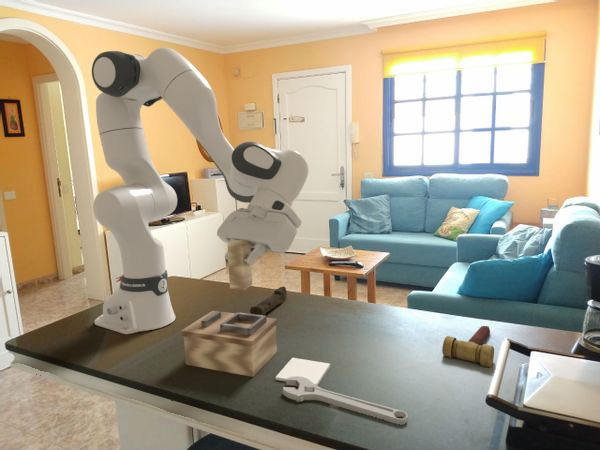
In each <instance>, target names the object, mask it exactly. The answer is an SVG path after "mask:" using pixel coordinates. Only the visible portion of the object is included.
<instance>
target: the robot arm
mask: <svg viewBox="0 0 600 450" xmlns="http://www.w3.org/2000/svg"><path fill="white" fill-rule="evenodd" d="M91 77H92V81H93V84H94V85H95V86H96V88H97V90H99V91H100V92H101V93H100V94H98V96H97V97H96V100H95V114H96V115H95V117H96V124H97V131H98V134H99V138H100V142H101V147H102V152H103V157H104V161H105V163H106V165H107V166H108V168H110V169H111V170H113V171H114V172H116V173H117V174H118V175H119V176H120V177H121V179H122V180H123V182H124V185H122V184H121V185H116V186H113V187H112V186H111V187H110V188H107V189H105V190H103V191H100V192H99V193H98V194H97V195H96V196H95V198H94V201H93V204H92V205H93V206H92V210H93V214H94V217H95V219H96V220H97V222H98V223H99V225H101V227H104V228H105V229H107V230H108V231H110V233H111V234H112V235H113V237H114V239H115V240H116V243H117V244H118V245H117V246H118V248H119V251H120V257H121V263H122V264H121V265H122V271H123V272H122V273H123V274H122V275H120V276H119V277H116V278H115V280H116V281H115V282H116V283H118V282H119V288H118V289H117V290H115V291H114V292H113V293H112V294H111V295H110V296H108V298H106V299H105V300H104V302H103V305H102V314H101V315H99V316H98V317H96V318H95V320H94V325H96V326H98V327H101V328H104V329H108V330H111V331H114V332H117V333H120V334H123V335H130V334H134V333H139V332H147V331H150V330H157V329H161V328H163V327H166V326H168V325H169V324H172V323H174V321H175V320H176V318H177V317H176V314H175V312H174V309H173V306H172V302H171V296H170V294H169V289H168V288H169V277H168V276H169V275H168V271H167V270H166V263H165V262H166V261H165V250H164V249H165V248H164V244H163V242H161V240H159V239H158V238H156V237H154V236H153V235H152V232H151V230H150V225H149V223H151V222H155V221H160V220H162V219H164V218H166V217H168V216H169V215H171V214H173V212H174V211H175V210H176V208H177V206H178V196H177V193H176V191H175V189H174V188H173V187H172V186H171V185H170V184H168V183H167V182H166V181H165V180H164V179H163V178H162V177H161V175H160V174H159V172H158V170H157V168H156V166H155V165H154V163H153V160H152V158H151V155H150V151H149V147H148V144H147V140H146V136H145V131H144V127H143V123H142V120H141V109H142V106H145V107H146V108H147V107H149V108H150V107H151V106H153V105H154V104H155V103H157V102H159V101H161V100H163V101H164V102H165V103H166V105H168V107H169V109H171V110H172V111H173V113H174V114H175V115H176V116H177V117H178V118H179V120H180V121H182V122H181V123H183V124H184V125H185V127H186V128H187V129H188V130H189V132H190V133H191V134H192V136H193V137H194V138H195V139H196V140H197V142H198V143H199V145H200V147H201V148H202V149H203V150H204V152H205V153H206V155H207V156H208V157H209V158H210V160H211V161H212V163H214V165H215V166H216V168H217V169H218V171H220V173H221V175H222V177H223V179H224V182H225V187H226V188H227V189H226V190H227V191H228V192H227V193H228V194H229V195H230V196H231V197H232V198H233V199H235V200H236V201H239V202H241V203H245V204H247V203H249V204H248V205H247V207H246V208H244V207H240V208H238V209H236V210H234V211H232V212H230V213H229V214H228V215H227V217H226V218H225V219H224V220H223V222H222V223H221V224H220V226H219V227H218V229H217V231H216V235H217V237H218V238H219V239H220V240H221V241H222V242H223V243H226V244H228V243H230V242H233V241H235V240H241V241H249V242H250V246H251V249H252V248H253V250H251V253H250V254H246V256H245V258H244V259H243V261H244V262H245V263H246V264H248V265H251V266H253V265H254V263H255V262H256V260H257V259H259V258H260V257H261V256H262V255H263V254H264V253H266V252H265V251H269V252H274V253H281V254H283V253H285V252H287V251H289V249H290V247H291V246H292V243H293V242H294V240H295V238H296V235H297V234H298V233H297V232H298V231H297V230H298V229H299V228H300V227H301V225H302V223H303V222H302V220H301V218H300V216H299V215H298V214H297V213H296V211H295V210H294V209H293V208H292V204H293V202H294V200H295V199H297V197H299V195H300V194H301V191H302V189H303V187H304V186H305V183H306V180H307V179H308V176H309V166H308V165H309V164H308V162H307V160H306V159H305V158H304V156H303V155H302V154H301V153H299V152H298V151H296V150H294V149H289V148H287V149H283V150H281V149H274V148H269V147H267V146H264V145H263V144H261V143H259V142H257V141H246V142H242V143H241V144H238V145H237V146H236V147H235V148H234V147H233V146H232V145H231V143H230V142H229V141H228V139H227V137H226V136H225V134H224V133H223V130H222V127H221V123H220V119H219V113H218V103H217V98H216V95H215V93H214V90H213V88H212V86H211V85H210V83H209V82H208V80H207V79H206V78H205V76H203V74H202V73H201V72H200V71H199V70H198V69H197V68H196V66H194V64H192V63H191V62H190V61H189V60H188V59H187V58H186V57H184V56H183V55H182V53H179V52H178V51H177V50H175V49H173V48H171V47H170V46H169V47H168V46H163V47H162V46H161V47H159V48H156V49H154V50H153V51H152V52H151V53H149V55H148V56H143V55H140V54H135V53H128V52H123V51H119V50H108V51H107V50H106V51H103V52H100V53H99V54H98V55H97V56H96V57H95V58H94V60H93V63H92V65H91ZM224 258H225V260H227V261H228V250H227V251H226V253H225V255H224Z"/></svg>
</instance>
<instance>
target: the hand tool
mask: <svg viewBox="0 0 600 450" xmlns="http://www.w3.org/2000/svg"><path fill="white" fill-rule="evenodd" d="M287 297H288V292H287V288H286V287H285V286H280V287H279V288H276V289H274V292H273V294H272V295H270V296H268V297H267V298H266V299H264V300H263V301H261V302H259V303H258V304H256V305H255V306H250V309H249V311H250V312H249V314H255V315H263V316H266V314H268V313H269V312H270V311H271V310H273V309H274V308H276V307H277V306H278V305H282V304H284V303H285V302H286V300H287Z"/></svg>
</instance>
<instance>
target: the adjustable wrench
mask: <svg viewBox="0 0 600 450" xmlns="http://www.w3.org/2000/svg"><path fill="white" fill-rule="evenodd" d="M285 385H286V386H283V387H282V395H283V396H285V397H286V398H288V399H289V400H293V401H296V402H297V403H299V402H304V401H313V400H314V401H320V402H324V403H326V404H329V405H333V406H337V407H339V408H343V409H346V410H348V411H349V410H350V411H353V412H355V413H359V414H362V413H363V414H362V415H365V414H366V416H369V415H370V417H372V416H373V418H375V417H377V418H376V419H379V418H380V419H379V420H382V419H384V420H383V421H385V420H386V421H385V422H388V421H389V423H392V424H395V423H396V425H399V424H400V425H401V426H402V425H403V424H404V425H405V423H406V424H407V423H408V417H409V416H408V413H407V412H405V411H403V410H400V409H396V408H394V407H389V406H385V405H382V404H379V403H376V402H371V401H367V400H363V399H362V398H361V399H360V398H357V397H352V396H350V395H346V394H342V393H340V392H335V391H331V390H328V389H325V388H323V387H320V386H319V385H318V386H317V385H315V384H314V383H312V382H311V381H310V380H309V379H307V378H304V377H299V376H295V377H289V378H287V379H286V381H285ZM287 386H296V387H297V389H296V387H287ZM402 417H403V418H402Z"/></svg>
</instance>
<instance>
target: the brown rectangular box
mask: <svg viewBox="0 0 600 450" xmlns="http://www.w3.org/2000/svg"><path fill="white" fill-rule="evenodd" d="M277 325H278V318H275V317H274V318H273V317H267V315H264V316H263V315H255V314H250V313H246V312H239V311H237V312H236V313H233V312H227V311H225V312H224V311H217V310H211V311H210V312H208V313H207V314H204V316H202V317H200V318H199V319H197V320H196V321H194V322H192V323H191V324H190V325H188V326H186V327H185V328H182V329H181V330H180V331H181V332H180V333H181V336H182V337H183V342H184V343H183V344H184V355H185V356H184V357H185V365H187V366H192V367H197V368H203V369H208V370H214V371H218V372H225V373H230V374H235V375H241V376H245V377H246V376H247V377H255V375H257V374H258V373H259V372H260V370H262V369H263V367H264V366H265V365H266V364H267V363H268V362H269V361H270V360H271V359H272V358H273V357H274V356H275V355H276V354H277V353H278V343H277Z"/></svg>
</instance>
